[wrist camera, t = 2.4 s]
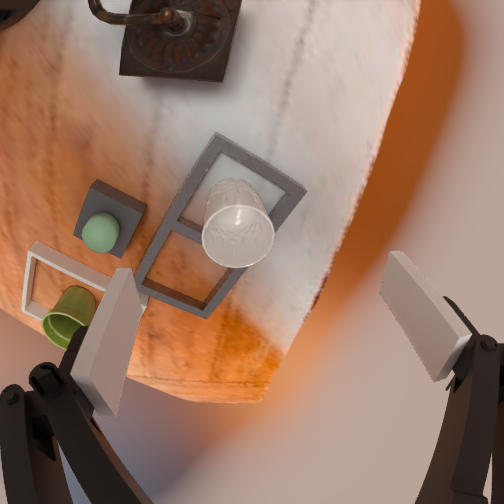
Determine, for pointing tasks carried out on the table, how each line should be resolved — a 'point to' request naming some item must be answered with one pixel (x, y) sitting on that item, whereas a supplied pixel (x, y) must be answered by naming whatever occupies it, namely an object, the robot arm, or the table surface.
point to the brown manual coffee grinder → (175, 37)
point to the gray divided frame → (194, 230)
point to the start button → (101, 232)
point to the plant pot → (68, 316)
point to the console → (111, 212)
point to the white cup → (236, 225)
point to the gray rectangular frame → (65, 266)
